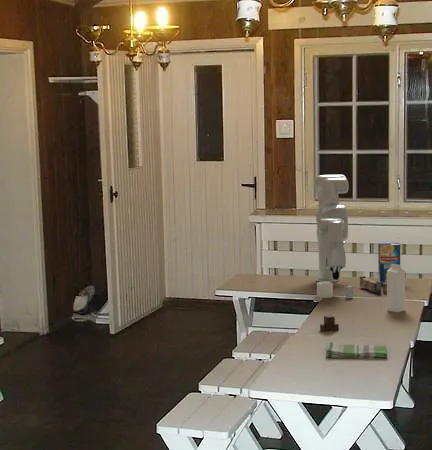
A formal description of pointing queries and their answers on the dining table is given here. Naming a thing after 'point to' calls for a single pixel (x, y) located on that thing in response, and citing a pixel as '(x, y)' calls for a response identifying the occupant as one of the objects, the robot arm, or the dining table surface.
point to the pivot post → (378, 287)
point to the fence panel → (385, 288)
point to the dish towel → (356, 351)
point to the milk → (395, 288)
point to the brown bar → (367, 283)
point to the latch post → (349, 292)
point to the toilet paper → (324, 289)
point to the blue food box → (387, 258)
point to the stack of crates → (329, 324)
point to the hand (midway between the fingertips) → (335, 279)
